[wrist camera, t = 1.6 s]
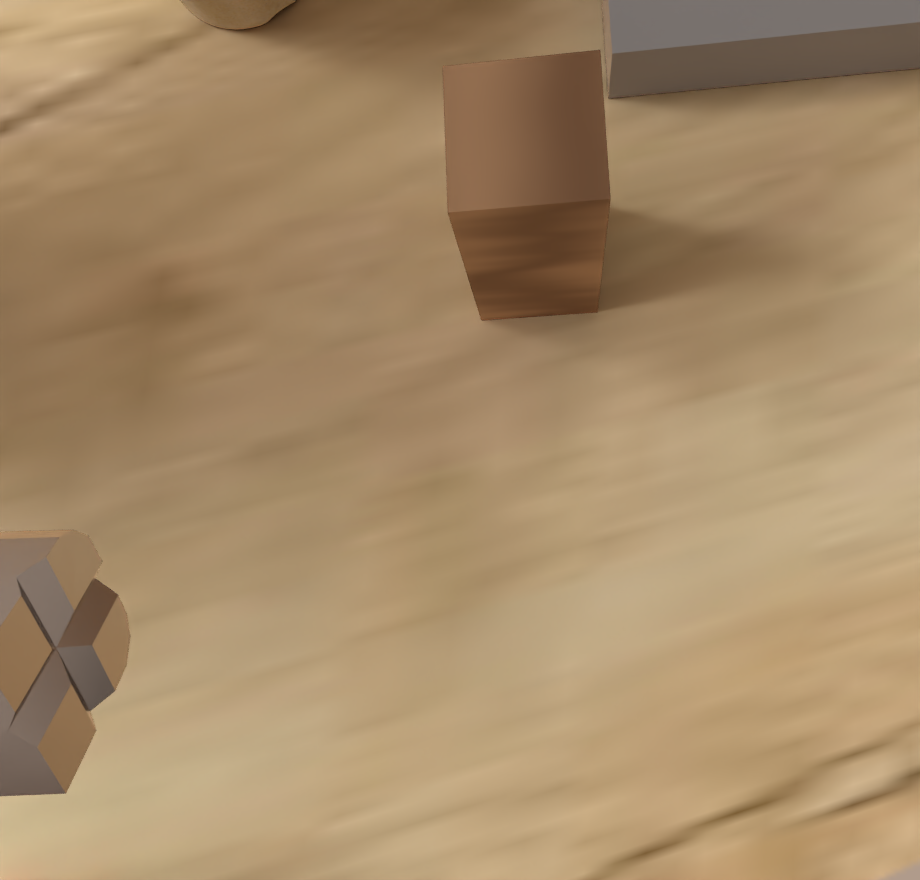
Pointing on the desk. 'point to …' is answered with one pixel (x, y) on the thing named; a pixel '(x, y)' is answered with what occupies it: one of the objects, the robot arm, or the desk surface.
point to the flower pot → (235, 11)
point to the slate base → (752, 42)
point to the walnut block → (528, 181)
